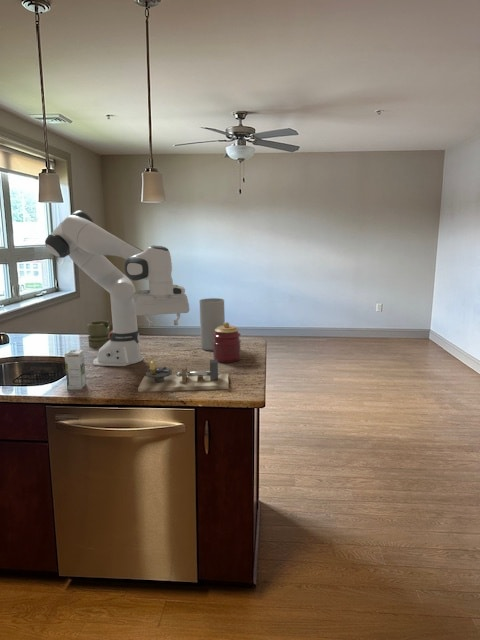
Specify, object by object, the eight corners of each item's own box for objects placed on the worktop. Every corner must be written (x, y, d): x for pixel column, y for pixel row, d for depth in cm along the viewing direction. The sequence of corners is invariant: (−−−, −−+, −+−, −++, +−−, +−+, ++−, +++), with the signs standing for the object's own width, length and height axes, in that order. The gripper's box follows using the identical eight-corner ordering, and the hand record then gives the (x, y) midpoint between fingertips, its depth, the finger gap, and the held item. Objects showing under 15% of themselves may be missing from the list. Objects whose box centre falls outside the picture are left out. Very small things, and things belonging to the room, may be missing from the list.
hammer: (176, 381, 166) (175, 363, 165) (177, 378, 170) (176, 360, 169) (220, 380, 167) (219, 362, 166) (220, 376, 171) (219, 359, 170)
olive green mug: (112, 320, 236) (103, 325, 225) (114, 342, 238) (105, 347, 227) (93, 320, 237) (83, 324, 226) (94, 341, 240) (85, 346, 229)
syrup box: (71, 385, 170) (68, 349, 167) (86, 384, 170) (83, 349, 167) (67, 390, 164) (63, 353, 161) (82, 389, 165) (79, 353, 162)
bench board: (138, 391, 161) (137, 381, 160) (144, 379, 175) (144, 369, 174) (228, 388, 163) (228, 378, 162) (228, 376, 176) (227, 367, 176)
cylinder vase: (216, 352, 214) (214, 302, 209) (196, 349, 220) (194, 301, 215) (229, 346, 224) (228, 299, 219) (210, 343, 231) (209, 297, 226)
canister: (219, 364, 193) (218, 326, 190) (209, 357, 205) (208, 321, 202) (245, 360, 198) (244, 323, 195) (234, 353, 210) (233, 318, 207)
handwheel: (143, 378, 162) (142, 363, 161) (148, 370, 172) (147, 355, 171) (170, 377, 163) (169, 362, 162) (173, 369, 173) (172, 355, 171)
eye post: (182, 383, 165) (181, 369, 164) (184, 377, 172) (183, 363, 171) (186, 383, 165) (185, 369, 164) (187, 377, 172) (186, 363, 171)
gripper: (132, 291, 156) (134, 328, 159) (188, 289, 159) (190, 325, 162) (133, 289, 162) (136, 325, 165) (187, 287, 165) (189, 322, 168)
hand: (163, 325), depth 163 cm, fingers open, 8 cm apart
